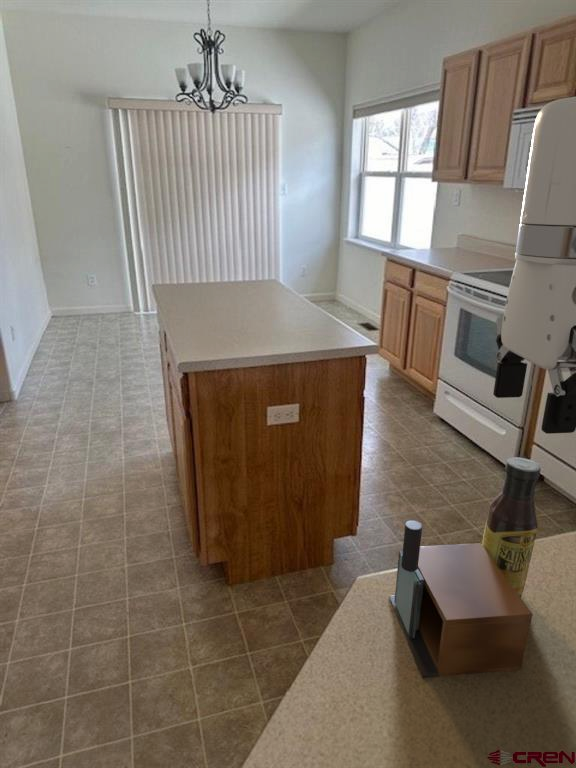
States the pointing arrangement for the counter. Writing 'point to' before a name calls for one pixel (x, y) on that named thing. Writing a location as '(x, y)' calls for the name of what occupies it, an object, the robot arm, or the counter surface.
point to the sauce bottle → (513, 522)
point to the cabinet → (465, 614)
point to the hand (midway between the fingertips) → (530, 412)
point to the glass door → (409, 577)
